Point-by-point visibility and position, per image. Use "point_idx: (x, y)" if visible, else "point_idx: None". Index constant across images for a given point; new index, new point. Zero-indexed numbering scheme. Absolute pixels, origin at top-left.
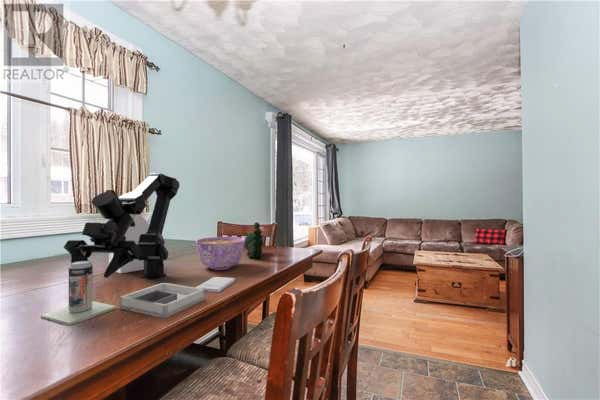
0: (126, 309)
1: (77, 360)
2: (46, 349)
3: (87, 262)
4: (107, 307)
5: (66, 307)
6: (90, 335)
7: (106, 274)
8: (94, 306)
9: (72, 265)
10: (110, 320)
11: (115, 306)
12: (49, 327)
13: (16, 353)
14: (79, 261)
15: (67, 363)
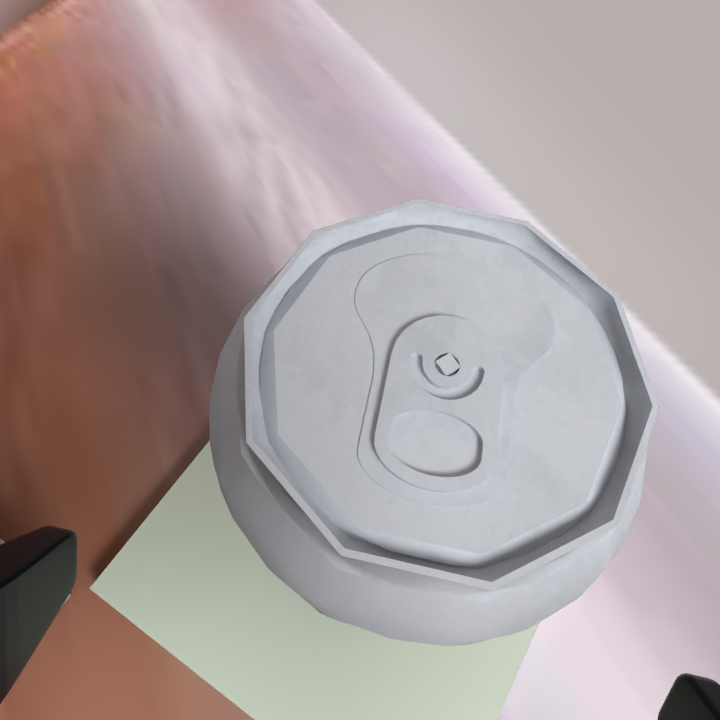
0: (3, 541)
1: (125, 25)
2: (283, 108)
3: (312, 414)
4: (161, 568)
5: (526, 634)
6: (146, 185)
7: (19, 545)
8: (287, 618)
9: (508, 228)
10: (90, 349)
11: (95, 583)
12: None
13: (381, 102)
14: (589, 534)
15: (153, 17)
